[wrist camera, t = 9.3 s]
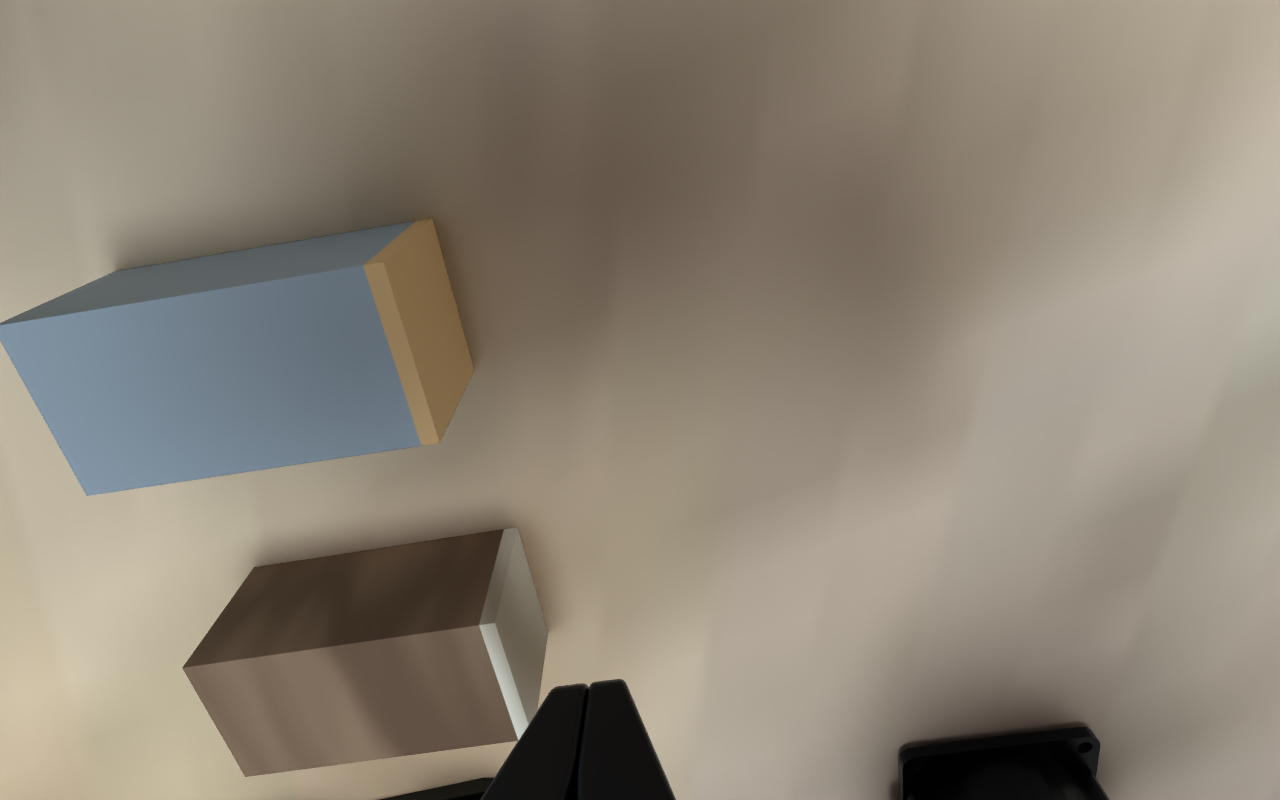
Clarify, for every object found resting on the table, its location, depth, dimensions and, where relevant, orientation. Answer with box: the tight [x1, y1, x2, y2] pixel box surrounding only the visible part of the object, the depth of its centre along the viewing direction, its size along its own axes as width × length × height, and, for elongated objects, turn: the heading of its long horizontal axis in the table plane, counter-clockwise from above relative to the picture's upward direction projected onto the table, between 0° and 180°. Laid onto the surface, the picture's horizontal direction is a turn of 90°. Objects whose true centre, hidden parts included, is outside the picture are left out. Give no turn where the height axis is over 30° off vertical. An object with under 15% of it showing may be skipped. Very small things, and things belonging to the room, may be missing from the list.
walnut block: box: [183, 527, 548, 777], centre depth 21 cm, size 4×4×8 cm
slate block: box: [0, 218, 474, 496], centre depth 18 cm, size 4×4×8 cm
